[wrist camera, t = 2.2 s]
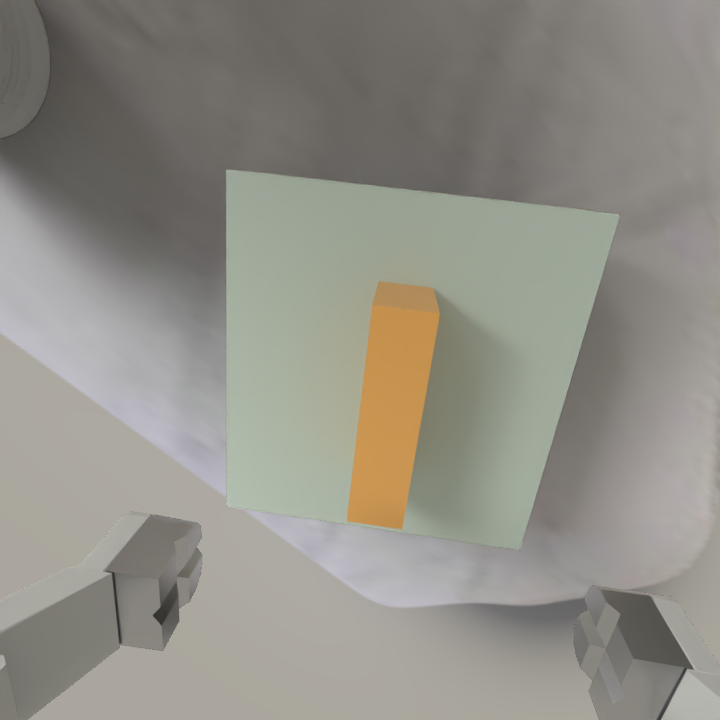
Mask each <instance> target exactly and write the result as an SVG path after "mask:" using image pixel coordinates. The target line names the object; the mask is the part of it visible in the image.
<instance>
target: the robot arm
mask: <svg viewBox="0 0 720 720" xmlns="http://www.w3.org/2000/svg"><path fill="white" fill-rule="evenodd" d="M201 538H202V531H201V525H200V524H199V523H197V522H191V521H187V520H181V519H176V518H171V517H165V516H159V515H151V514H146V513H140V512H135V511H130V512H128V513H126V514H124V515H123V516H122V518H121V519H120V520H119V521H118V522H117V523H116V524H115V525H114V527H113V528H112V529H111V530H110V531H109V532H108V533H107V534H106V536H105V537H104V538H103V539H102V540H101V541H100V542H99V544H98V545H97V546H96V547H95V548H94V549H93V550H92V551H91V553H90V554H89V555H88V556H87V557H86V558H85V559H84V560H83V562H82V563H81V564H80V565H79V566H78V567H73V566H70V567H68V568H65V569H63V570H61V571H59V572H57V573H55V574H53V575H51V576H49V577H47V578H45V579H42V580H40V581H38V582H36V583H35V584H32V585H30V586H28V587H26V588H24V589H22V590H20V591H18V592H16V593H13V594H11V595H9V596H7V597H5V598H3V599H1V600H0V720H28V719H29V718H30V717H32V716H33V715H34V714H35V713H37V712H38V711H39V710H41V709H42V708H43V707H44V706H46V705H47V704H48V703H49V702H51V701H52V700H53V699H55V698H56V697H57V696H59V695H60V694H61V693H62V692H64V691H65V690H66V689H68V688H69V687H70V686H71V685H73V684H74V683H75V682H76V681H78V680H79V679H80V678H82V677H83V676H84V675H85V674H87V673H88V672H89V671H91V670H92V669H93V668H94V667H96V666H97V665H98V664H100V663H101V662H102V661H103V660H105V659H106V658H107V657H109V655H111V654H112V653H114V652H115V651H116V650H118V649H119V648H120V645H124V646H131V647H138V648H145V649H152V650H159V651H163V650H164V648H165V647H166V645H167V643H168V641H169V639H170V637H171V635H172V634H173V632H174V630H175V628H176V626H177V624H178V622H179V608H181V607H182V606H184V605H185V604H187V603H188V602H190V600H191V598H192V596H193V594H194V592H195V590H196V587H197V584H198V581H199V578H200V575H201V569H202V554H201V552H200V551H199V550H198V548H197V545H198V543H199V542H200V540H201ZM584 600H585V602H586V605H587V607H588V610H586V611H585V612H583V613H582V614H580V615H579V616H578V618H577V621H576V624H575V627H574V647H575V652H576V657H577V659H578V662H579V665H580V668H581V669H582V670H583V671H584V672H585V673H586V674H587V675H588V676H589V677H590V679H591V680H592V684H591V686H590V689H589V693H590V696H591V699H592V702H593V704H594V707H595V710H596V713H597V715H598V718H599V720H720V665H719V664H718V662H717V661H716V660H715V658H714V656H713V655H712V653H711V652H710V650H709V649H708V647H707V646H706V644H705V643H704V641H703V639H702V638H701V636H700V635H699V634H698V632H697V631H696V629H695V627H694V626H693V624H692V623H691V621H690V620H689V618H688V617H687V615H686V614H685V612H684V611H683V609H682V608H681V606H680V605H679V603H678V602H677V601H676V600H675V599H673V598H672V597H670V596H663V595H656V594H649V593H641V592H634V591H627V590H621V589H614V588H608V587H601V586H594V585H593V586H592V587H591V588H589V589H588V591H587V594H586V596H585V599H584Z"/></svg>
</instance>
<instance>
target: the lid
mask: <svg viewBox="0 0 720 720" xmlns="http://www.w3.org/2000/svg"><path fill="white" fill-rule="evenodd" d="M619 218H620V215H619V214H612V213H606V212H599V211H592V210H585V209H577V208H568V207H559V206H551V205H542V204H533V203H524V202H516V201H507V200H498V199H489V198H481V197H472V196H463V195H455V194H446V193H437V192H428V191H420V190H411V189H402V188H394V187H385V186H376V185H367V184H359V183H350V182H341V181H332V180H324V179H315V178H306V177H298V176H289V175H280V174H271V173H263V172H254V171H241V170H226V506H227V507H233V508H240V509H247V510H253V511H260V512H267V513H273V514H280V515H287V516H294V517H300V518H307V519H314V520H320V521H327V522H334V523H340V524H347V525H354V526H361V527H367V528H374V529H381V530H387V531H394V532H401V533H407V534H414V535H421V536H428V537H434V538H441V539H448V540H454V541H461V542H468V543H474V544H481V545H488V546H495V547H501V548H508V549H515V550H520V548H521V544H522V541H523V538H524V534H525V531H526V528H527V524H528V521H529V518H530V514H531V511H532V508H533V504H534V501H535V498H536V494H537V491H538V488H539V484H540V481H541V478H542V474H543V471H544V468H545V464H546V461H547V458H548V454H549V451H550V448H551V444H552V441H553V438H554V434H555V431H556V428H557V424H558V421H559V418H560V414H561V411H562V408H563V404H564V401H565V398H566V394H567V391H568V388H569V384H570V381H571V378H572V374H573V371H574V368H575V364H576V361H577V358H578V354H579V351H580V348H581V344H582V341H583V338H584V334H585V331H586V328H587V324H588V321H589V318H590V314H591V311H592V308H593V304H594V301H595V298H596V294H597V291H598V288H599V284H600V281H601V278H602V274H603V271H604V268H605V264H606V261H607V258H608V254H609V251H610V248H611V244H612V241H613V238H614V234H615V231H616V228H617V224H618V221H619Z"/></svg>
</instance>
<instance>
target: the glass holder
mask: <svg viewBox="0 0 720 720" xmlns="http://www.w3.org/2000/svg"><path fill="white" fill-rule="evenodd" d="M49 79H50V50H49V43H48V36H47V33H46V29H45V26H44V22H43V19H42V16H41V14H40V12H39V9H38V7H37V5H36V2H35V0H0V138H5V137H7V136H10V135H13V134H15V133H17V132H18V131H20V130H21V129H23V128H24V127H26V126H27V125H28V124H29V123H30V122H31V121H32V120H33V119H34V117H35V116H36V115H37V113H38V111H39V110H40V108H41V106H42V104H43V102H44V99H45V96H46V93H47V90H48V85H49Z"/></svg>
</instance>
